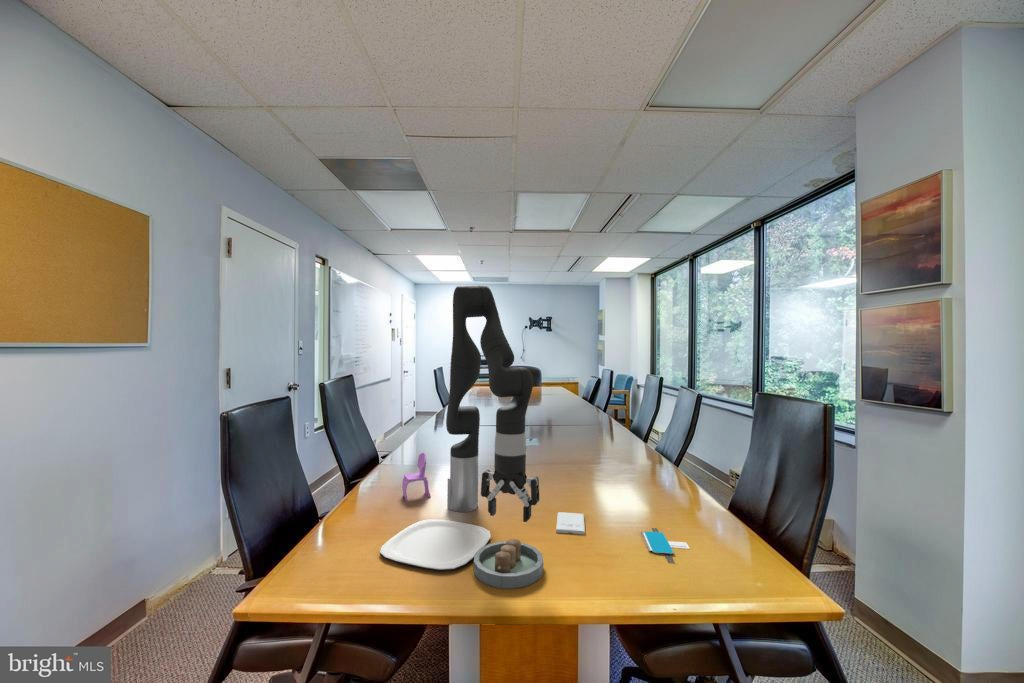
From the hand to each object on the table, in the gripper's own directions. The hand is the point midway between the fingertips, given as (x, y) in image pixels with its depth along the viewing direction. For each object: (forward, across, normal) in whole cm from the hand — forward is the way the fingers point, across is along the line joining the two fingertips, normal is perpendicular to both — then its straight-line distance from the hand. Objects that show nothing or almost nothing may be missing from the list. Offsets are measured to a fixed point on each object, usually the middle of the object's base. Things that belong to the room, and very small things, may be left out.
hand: (509, 517), depth 100 cm
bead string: (+11, 0, 0) cm, 11 cm away
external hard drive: (+13, +8, +30) cm, 34 cm away
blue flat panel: (+13, +35, +27) cm, 46 cm away
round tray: (+12, 0, 0) cm, 12 cm away
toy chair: (+13, -48, +32) cm, 59 cm away
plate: (+13, -22, +4) cm, 26 cm away
